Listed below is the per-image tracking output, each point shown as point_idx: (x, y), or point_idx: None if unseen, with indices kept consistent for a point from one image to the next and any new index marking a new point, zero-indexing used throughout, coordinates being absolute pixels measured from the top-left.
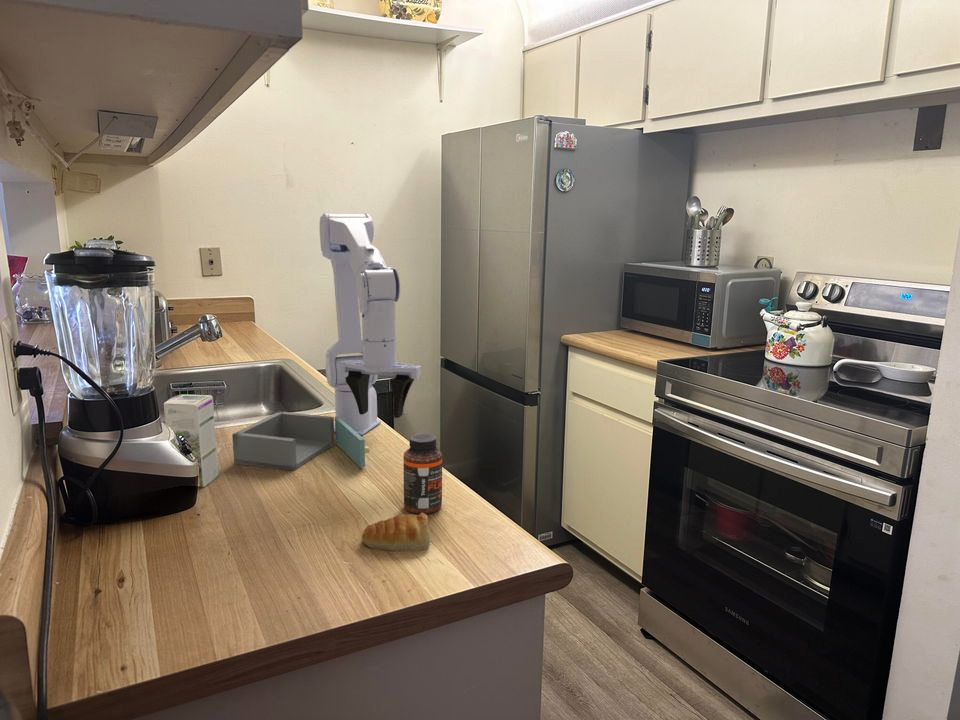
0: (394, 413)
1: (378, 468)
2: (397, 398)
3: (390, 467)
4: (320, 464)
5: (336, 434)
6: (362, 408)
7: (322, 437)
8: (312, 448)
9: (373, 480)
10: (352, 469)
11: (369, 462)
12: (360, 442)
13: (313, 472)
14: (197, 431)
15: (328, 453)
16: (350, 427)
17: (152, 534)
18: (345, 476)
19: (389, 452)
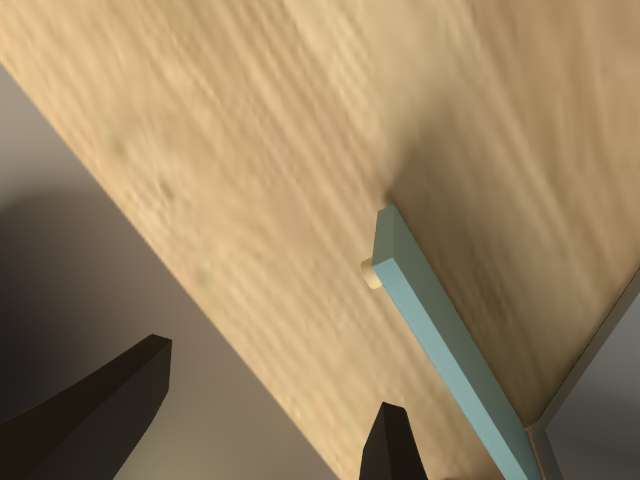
0: (151, 353)
1: (328, 217)
2: (33, 422)
3: (287, 227)
4: (571, 252)
5: (532, 455)
6: (382, 436)
7: (587, 452)
8: (621, 376)
9: (321, 92)
10: (428, 204)
11: None
12: (390, 251)
13: (598, 165)
14: None
15: (546, 355)
16: (470, 420)
17: None
18: (447, 128)
19: (321, 355)
